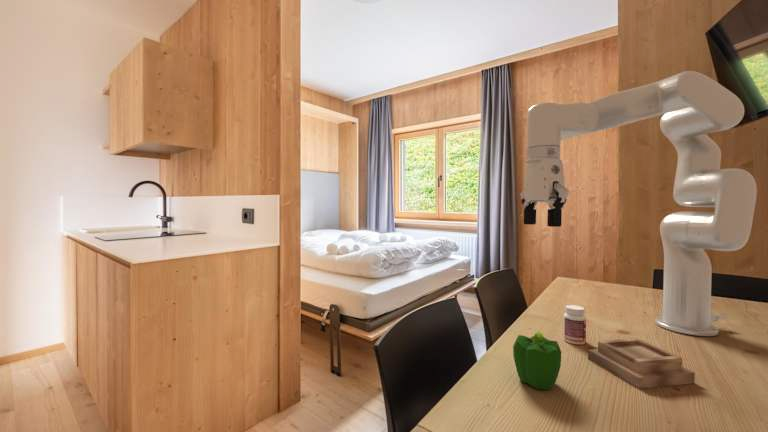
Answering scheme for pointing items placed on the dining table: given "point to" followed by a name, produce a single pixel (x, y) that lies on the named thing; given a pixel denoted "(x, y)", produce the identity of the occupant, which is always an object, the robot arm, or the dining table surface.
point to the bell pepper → (537, 360)
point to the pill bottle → (575, 325)
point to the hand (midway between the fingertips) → (541, 225)
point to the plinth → (641, 363)
